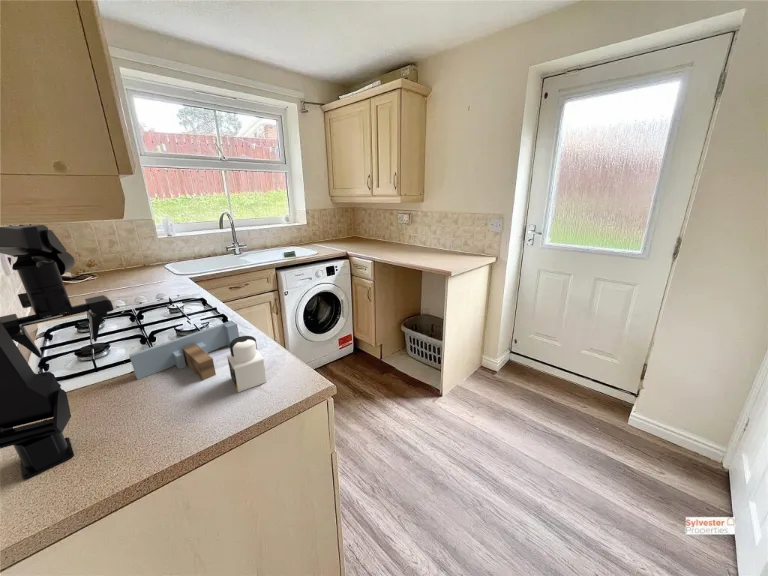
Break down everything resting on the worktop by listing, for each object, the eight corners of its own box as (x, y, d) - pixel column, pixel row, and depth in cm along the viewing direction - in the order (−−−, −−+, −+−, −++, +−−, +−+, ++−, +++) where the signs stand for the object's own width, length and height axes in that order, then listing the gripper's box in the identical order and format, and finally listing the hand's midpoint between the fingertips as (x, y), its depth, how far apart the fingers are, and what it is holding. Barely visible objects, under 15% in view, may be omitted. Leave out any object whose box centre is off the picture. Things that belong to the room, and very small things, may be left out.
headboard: (241, 344, 97) (238, 324, 95) (141, 384, 78) (133, 360, 76) (234, 340, 99) (231, 320, 97) (136, 377, 81) (129, 354, 78)
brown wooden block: (216, 374, 82) (212, 358, 81) (203, 380, 80) (199, 363, 78) (197, 358, 90) (194, 343, 88) (185, 363, 87) (181, 347, 85)
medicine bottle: (231, 378, 81) (223, 338, 77) (259, 369, 85) (253, 330, 81) (237, 393, 75) (230, 350, 71) (267, 382, 79) (261, 341, 75)
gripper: (94, 268, 78) (112, 324, 83) (-25, 287, 64) (6, 352, 69) (104, 277, 71) (123, 337, 76) (-27, 300, 57) (8, 372, 63)
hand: (68, 348), depth 71 cm, fingers open, 9 cm apart
